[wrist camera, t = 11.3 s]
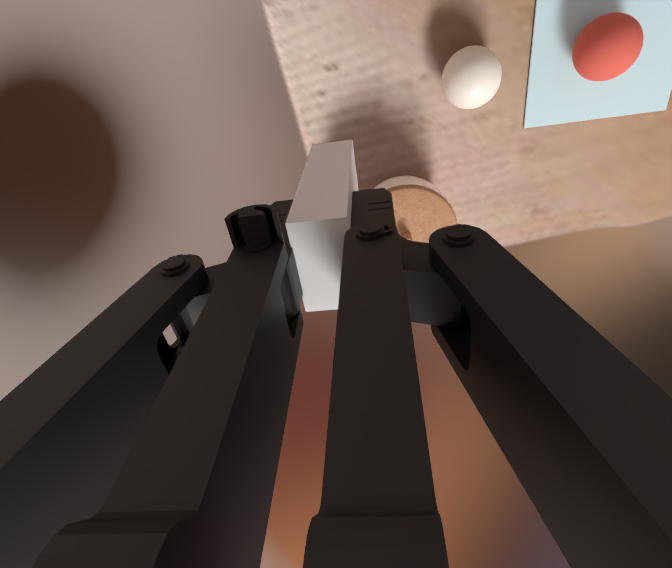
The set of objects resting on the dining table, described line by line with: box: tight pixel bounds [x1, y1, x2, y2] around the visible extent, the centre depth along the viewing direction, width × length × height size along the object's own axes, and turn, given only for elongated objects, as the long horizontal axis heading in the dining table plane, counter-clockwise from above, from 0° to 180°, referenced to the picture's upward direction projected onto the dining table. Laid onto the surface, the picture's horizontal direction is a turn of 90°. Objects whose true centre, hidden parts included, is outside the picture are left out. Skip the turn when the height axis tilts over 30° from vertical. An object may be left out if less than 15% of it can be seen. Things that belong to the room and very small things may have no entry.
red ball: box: [572, 12, 644, 81], centre depth 39 cm, size 6×6×6 cm
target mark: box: [523, 0, 672, 128], centre depth 41 cm, size 14×14×1 cm
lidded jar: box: [374, 176, 457, 243], centre depth 47 cm, size 11×11×9 cm
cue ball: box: [442, 45, 502, 109], centre depth 40 cm, size 6×6×6 cm
